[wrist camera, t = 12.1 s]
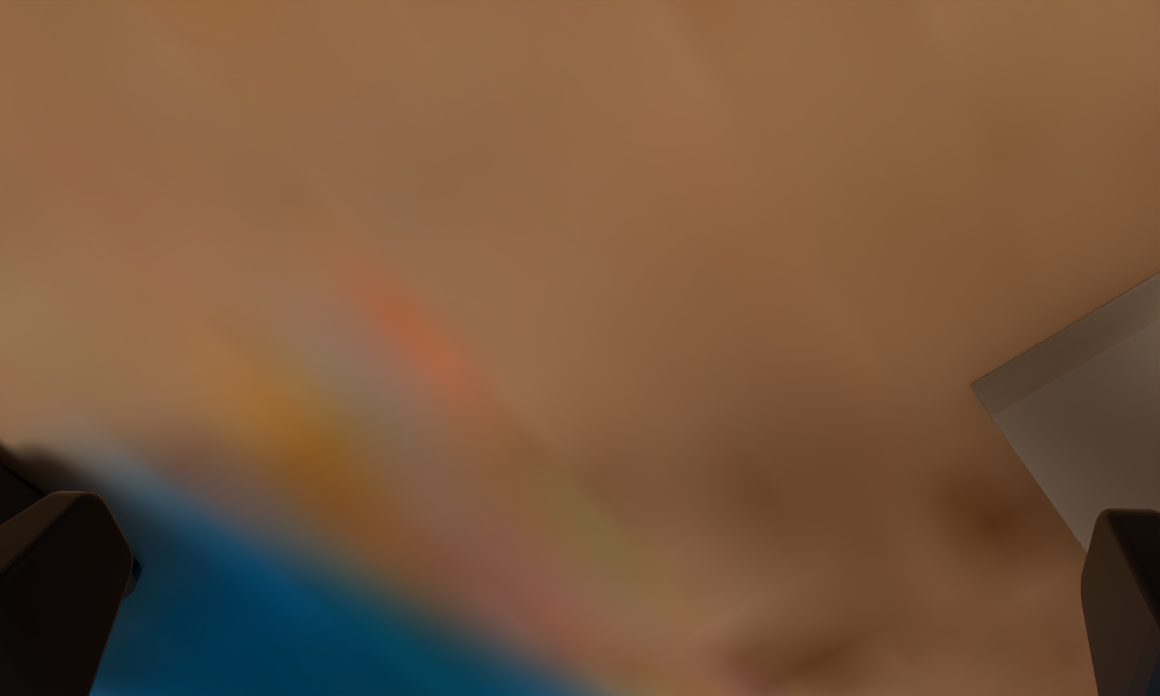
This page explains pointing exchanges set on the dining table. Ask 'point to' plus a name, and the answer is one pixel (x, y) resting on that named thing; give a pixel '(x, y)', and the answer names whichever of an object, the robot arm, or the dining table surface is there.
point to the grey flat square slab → (1088, 410)
